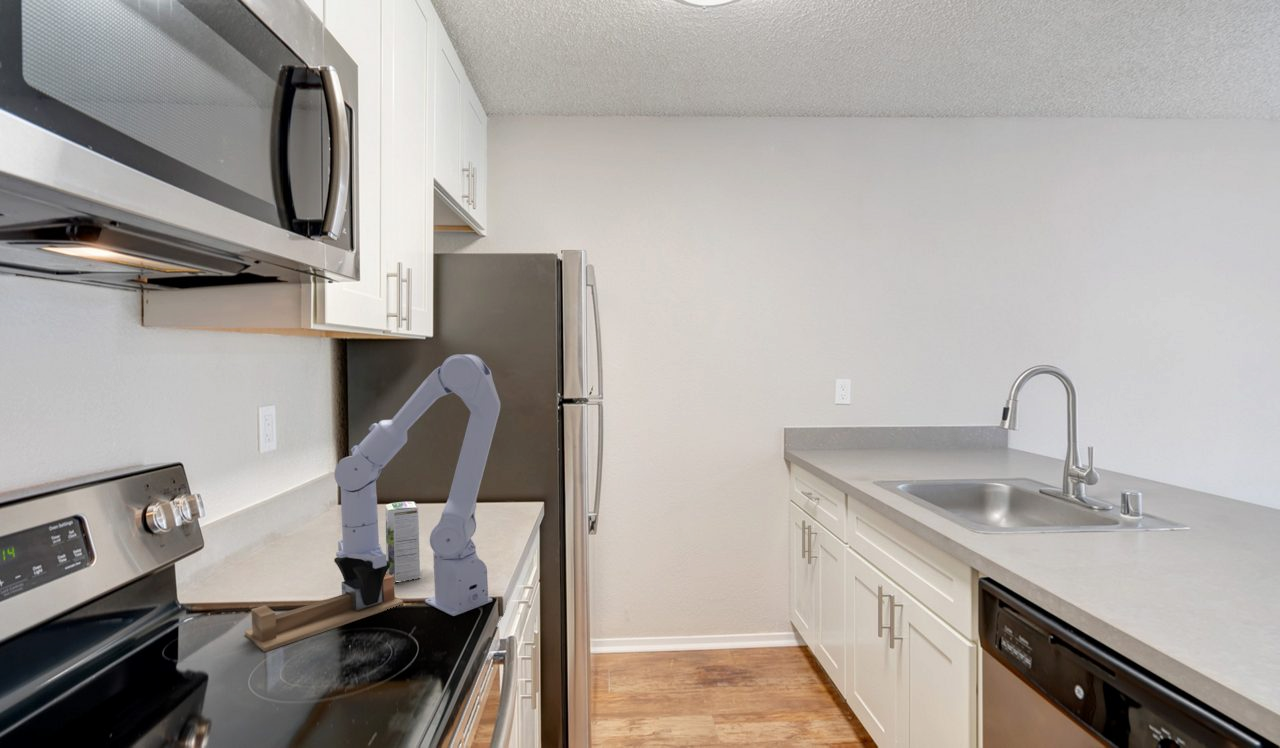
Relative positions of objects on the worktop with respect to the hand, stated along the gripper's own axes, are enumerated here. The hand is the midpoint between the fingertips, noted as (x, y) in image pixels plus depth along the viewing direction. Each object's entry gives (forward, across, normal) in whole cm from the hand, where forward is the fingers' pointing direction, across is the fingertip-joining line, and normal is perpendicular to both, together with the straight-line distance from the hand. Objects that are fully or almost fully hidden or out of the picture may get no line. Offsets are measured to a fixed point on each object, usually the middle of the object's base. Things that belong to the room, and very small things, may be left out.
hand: (363, 599), depth 108 cm
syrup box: (+2, -8, +12) cm, 14 cm away
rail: (+1, 0, -6) cm, 6 cm away
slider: (+1, 0, 0) cm, 1 cm away
